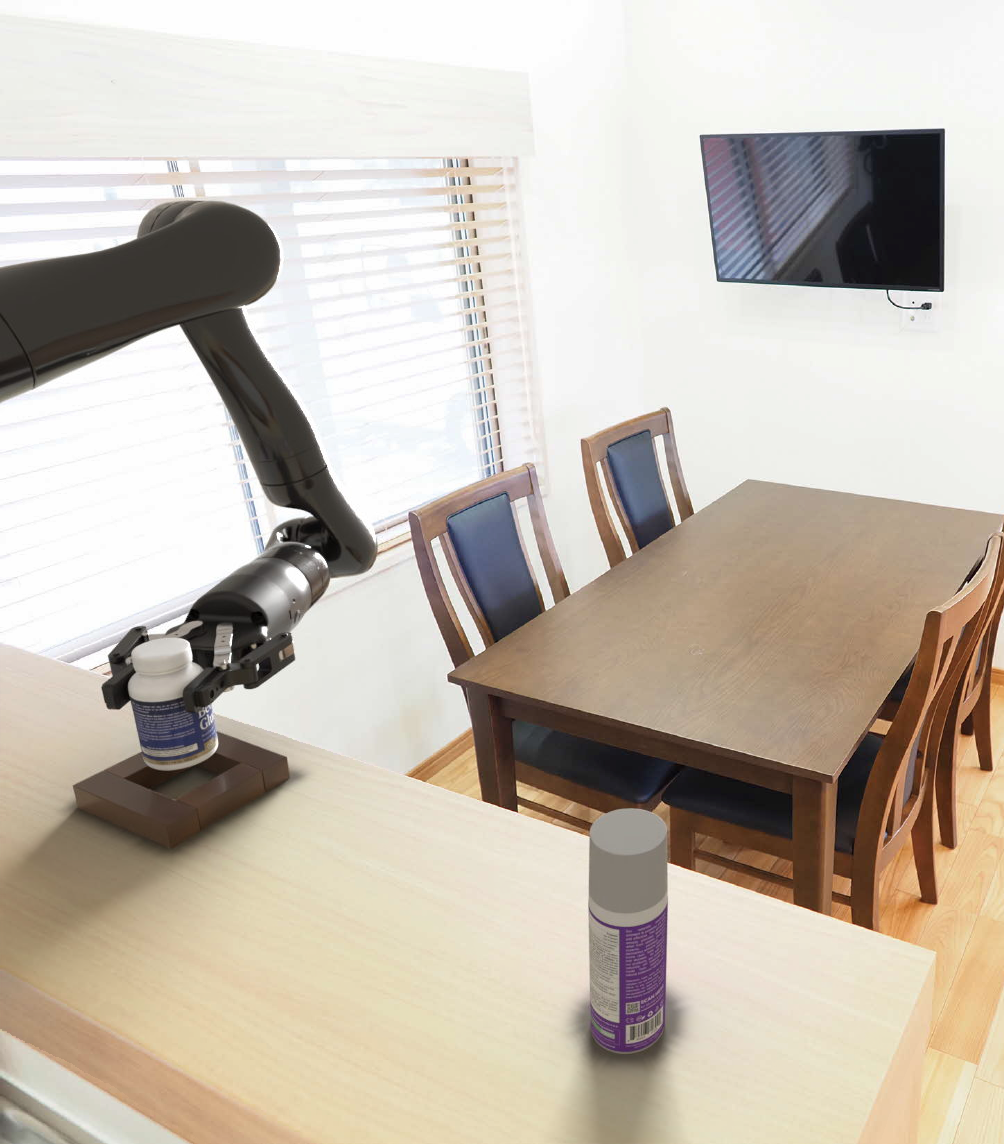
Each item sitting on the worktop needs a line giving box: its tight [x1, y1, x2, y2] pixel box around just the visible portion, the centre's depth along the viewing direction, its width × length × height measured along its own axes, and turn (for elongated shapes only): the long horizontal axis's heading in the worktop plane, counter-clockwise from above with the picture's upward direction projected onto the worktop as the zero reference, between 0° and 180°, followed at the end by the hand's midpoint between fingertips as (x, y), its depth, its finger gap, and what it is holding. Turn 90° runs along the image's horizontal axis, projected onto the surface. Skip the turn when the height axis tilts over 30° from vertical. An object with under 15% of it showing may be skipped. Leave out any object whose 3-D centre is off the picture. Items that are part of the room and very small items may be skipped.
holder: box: [72, 730, 291, 850], centre depth 80 cm, size 11×11×2 cm
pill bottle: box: [128, 638, 218, 771], centre depth 78 cm, size 5×5×10 cm
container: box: [587, 808, 669, 1055], centre depth 58 cm, size 5×5×15 cm
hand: (150, 700), depth 75 cm, fingers closed on pill bottle, 5 cm apart
